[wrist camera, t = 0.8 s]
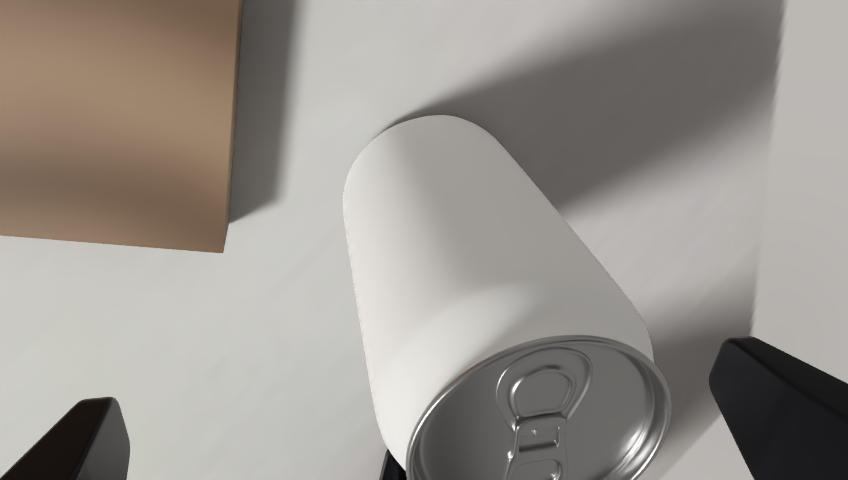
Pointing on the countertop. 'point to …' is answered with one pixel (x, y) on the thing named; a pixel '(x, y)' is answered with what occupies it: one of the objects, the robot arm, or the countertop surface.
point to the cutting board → (118, 120)
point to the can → (491, 319)
